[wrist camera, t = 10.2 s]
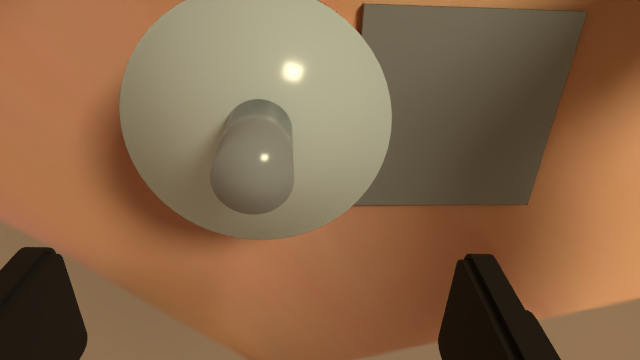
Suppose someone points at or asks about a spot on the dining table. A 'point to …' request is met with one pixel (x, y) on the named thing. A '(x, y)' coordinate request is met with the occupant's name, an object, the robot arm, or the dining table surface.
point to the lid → (255, 115)
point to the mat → (467, 99)
